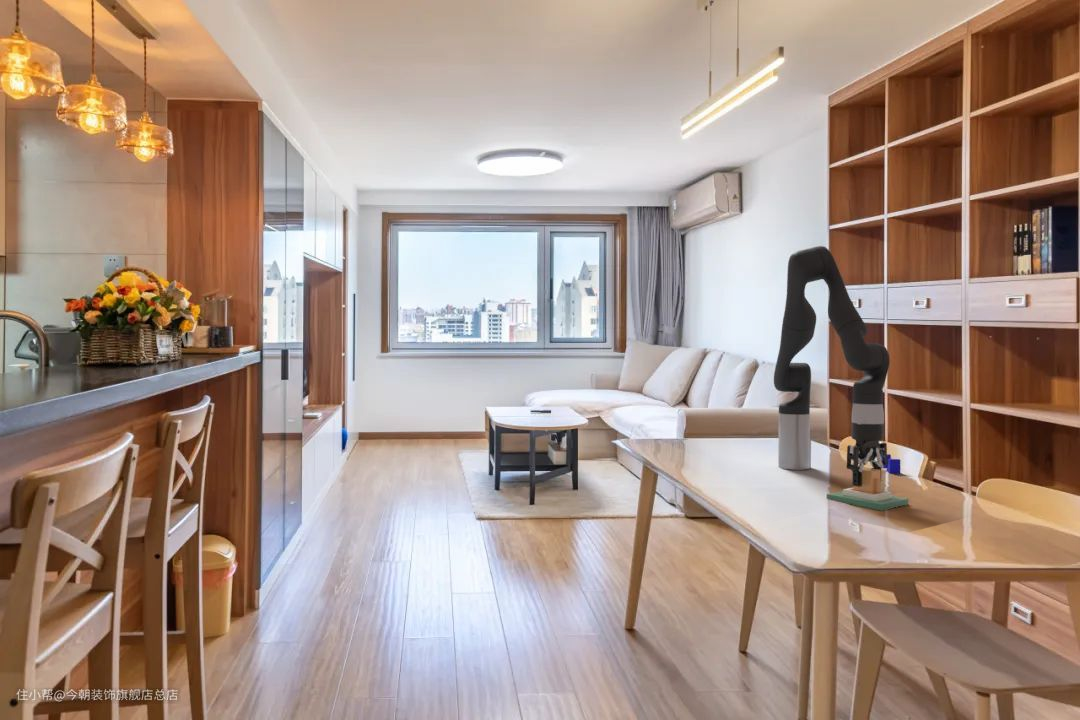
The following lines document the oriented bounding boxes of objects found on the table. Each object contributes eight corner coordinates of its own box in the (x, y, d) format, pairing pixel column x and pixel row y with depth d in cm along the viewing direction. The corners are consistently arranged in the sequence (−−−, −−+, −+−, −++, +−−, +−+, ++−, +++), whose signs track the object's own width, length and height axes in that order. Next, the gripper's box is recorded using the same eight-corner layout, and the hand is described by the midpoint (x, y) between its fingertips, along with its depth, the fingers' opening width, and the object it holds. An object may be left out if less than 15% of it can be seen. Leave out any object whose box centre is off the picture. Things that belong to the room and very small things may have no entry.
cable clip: (874, 472, 231) (874, 453, 230) (889, 472, 230) (889, 454, 230) (884, 478, 219) (884, 459, 219) (900, 479, 218) (900, 459, 218)
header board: (853, 494, 193) (853, 483, 193) (908, 504, 181) (908, 492, 181) (826, 499, 186) (826, 488, 186) (881, 510, 174) (881, 498, 174)
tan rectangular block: (861, 494, 187) (862, 467, 187) (883, 497, 182) (883, 470, 182) (853, 495, 184) (853, 468, 184) (874, 499, 180) (874, 471, 180)
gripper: (869, 418, 190) (869, 479, 190) (837, 421, 182) (837, 485, 182) (897, 421, 184) (896, 484, 184) (865, 424, 176) (864, 489, 176)
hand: (867, 484), depth 183 cm, fingers open, 8 cm apart
